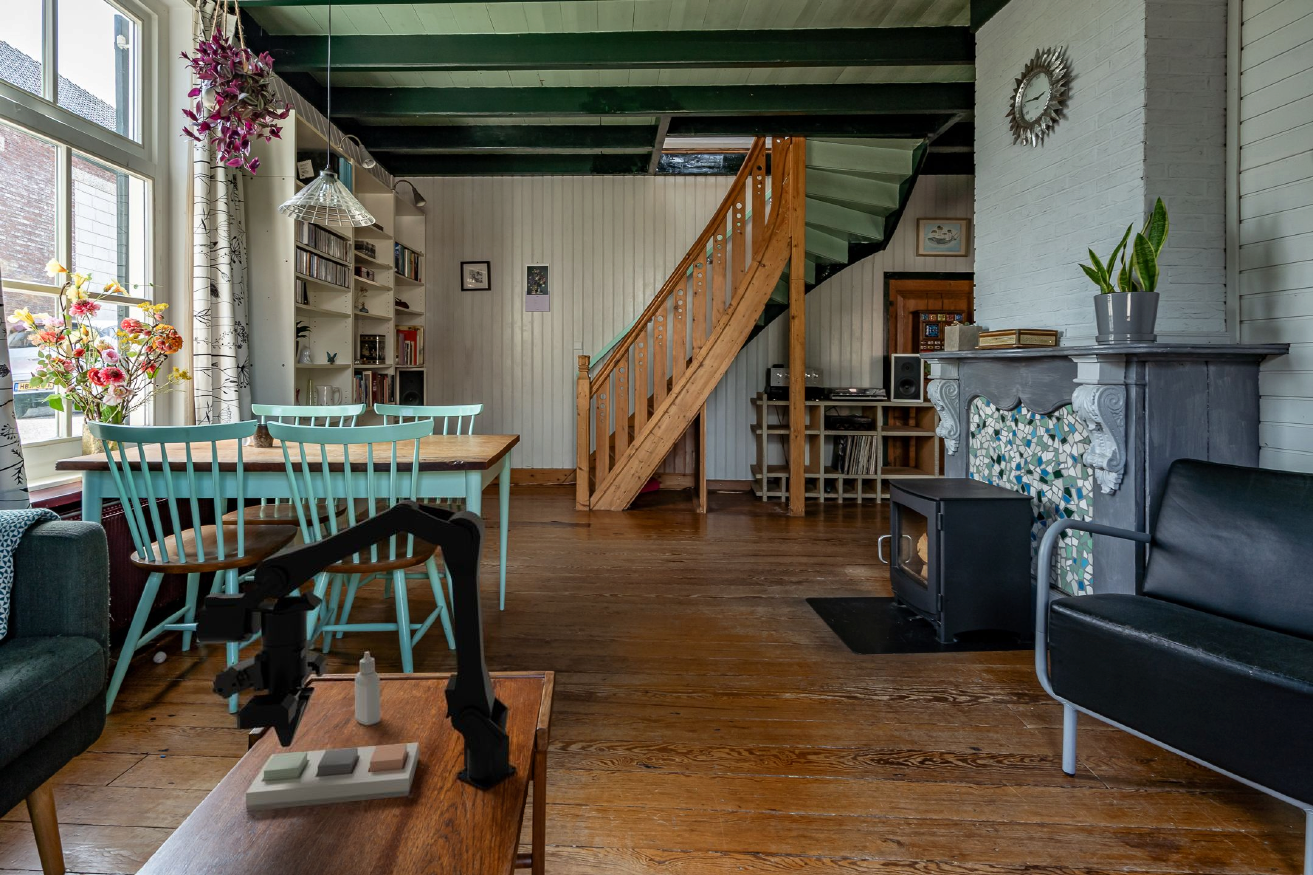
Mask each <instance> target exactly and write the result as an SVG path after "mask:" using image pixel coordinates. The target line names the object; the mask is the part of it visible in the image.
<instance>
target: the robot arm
mask: <svg viewBox="0 0 1313 875" xmlns="http://www.w3.org/2000/svg"><path fill="white" fill-rule="evenodd" d="M402 532H404V533H407V534H410V535H411V536H414V537H416V538H418V539H420V540H422V541H424V542H426V543H428V544H431V545H435V546H438V547H440V549H441V553H442V558H443V561H444V564H445V567H446V569H447V571H448V574H449V576H450V577H449V578H450V579H451V591H452V592H451V594H452V610H453V625H454V626H453V628H454V640H455V654H456V655H455V657H456V658H455V659H456V673H455V674H454V673H451V674H450V675H449V678H448V681H447V684H446V686H445V689H444V696H445V701H446V705H447V709H446V710H447V712H446V715H445V719H449V718H450V723H451V727H452V728H453V730H455V731H457V732H458V733H459V734H461V735H462V738H463V740H464V741H463V767H464V768H463V769H461V770H460V771H458V772H457V773H456V777H457V778H458V779H460V780H462V781H464V782H467V783H469V784H470V785H472V786H475V787H476V788H479V789H481V790H483V791H488V790H490V789H492V788H493V787H494V786H496V785H498V784H499V783H501V782H502V781H504V780H505V779H507V778H509V777H510V776H512V775H513V774H515V773H517V771H518V769H517V766H514V765H512V764H510V735H509V734H507V724H508V716H509V710H510V709H509V707H508V706H507V705H506V704H505V703H503V702H502V701H501V700H500V699H499V698H498V697H497V696H496V695H495V690H494V687H493V686H494V685H493V682H492V679H491V678H492V677H491V674H490V672H489V670H488V667H487V664H486V661H485V652H484V651H485V648H484V633H483V618H482V603H481V602H482V601H481V587H480V585H481V584H480V582H481V581H480V569H481V568H480V567H481V562H482V555H483V550H484V543H485V542H484V541H485V532H486V525H485V522H484V519H483V518H482V517H481V516H480V515H478V513H476V512H474V511H472V510H460V511H457V512H456V511H453V510H450V509H446V508H444V507H443V508H442V507H438V506H433V505H427V504H423V503H420V502H418V501H416V500H413V499H404V500H403V499H402V500H400V501H399V502H398V503H396V504H395V505H394V506H391V507H390V508H388V509H386V510H384V511H382V512H381V511H380V512H379V513H377V514H375V515H373V516H370V517H369V518H366V519H364V520H362V521H360V522H358V523H356V524H353V525H351V526H350V527H347V528H345V529H343V530H341V531H338V532H336V533H335V534H333V535H330V536H329V537H326V538H323V539H320V540H317V541H312V542H307V543H302V544H299V545H295V546H292V547H288V548H285V549H282V550H280V551H278V552H276V553H275V554H273V555H272V556H270V557H268V558H266V559H264V560H263V561H262V562H260V563H258V565H256V567H255V571H254V574H253V582H252V584H251V585H250V586H249V588H248V589H247V590H246V592H244V593H223V592H211V593H210V594H208V595H206V596H205V597H204V598H203V607H202V608H201V610H200V613H199V616H198V620H197V623H196V624H195V635H196V639H197V640H198V641H199V643H201V644H203V645H204V644H205V645H206V644H207V645H208V644H227V643H228V644H229V643H248V642H250V641H251V640H252V638H253V637H254V635H258V634H259V632H260V631H261V632H260V633H261V634H260V636H261V637H260V638H261V640H260V641H261V649H260V650H259V651H258V652H257V653H256V654H255V655H254V656H252V657H249V658H247V659H244V660H242V661H238V662H237V663H233V664H232V665H229V666H227V667H225V668H223V669H222V670H220V671H219V672H217V674H216V675H215V677H214V679H213V681H212V684H213V688H212V693H213V694H216V695H217V696H220V697H222V699H223V700H226V699H227V700H228V699H230V698H231V697H233V696H234V695H236V694H238V693H241V692H244V691H246V690H249V689H251V688H252V689H253V692H256V693H257V692H264V691H265V690H267V692H266V694H256V695H253V696H251V697H250V699H249V700H248V701H247V702H246V703H245V704H244V705H243V706H242V708H240V710H239V711H238V712H237V713H236V728H237V729H238V730H248V729H262V728H273V729H274V731H275V733H276V736H277V739H278V742H279V744H280V746H281V747H282V748H289V747H290V746H291V745H292V743H293V741H294V738H295V737H296V733H297V731H298V729H299V726H300V724H301V722H302V719H303V718H304V715H305V712H306V709H307V707H308V706H309V702H310V700H311V699H312V696H313V694H314V692H315V686H306V687H305V684H306V682H307V681H308V679H309V678H310V677H311V676H312V674H313V672H314V671H315V676H316V677H317V678H321V677H322V676H323V675H324V673H325V672H326V671H327V670H326V669H327V665H326V663H327V661H326V660H327V658H326V657H325V656H323V655H322V654H321V653H319V652H318V653H308V651H309V650H310V648H311V647H312V639H308V620H307V619H308V617H307V616H308V615H307V612H309V611H310V612H311V611H315V609H317V608H318V607H319V606H320V605H322V603H323V599H322V598H321V597H319V595H316V594H314V593H313V592H312V590H311V589H307V590H306V591H304V592H303V593H302V595H290V594H291V593H293V592H294V591H296V590H298V589H299V588H300V587H301V586H303V585H304V584H306V583H307V582H309V581H310V580H311V579H313V578H315V577H316V576H317V575H319V573H321V572H323V571H324V570H325V569H327V568H328V567H330V566H332V565H334V564H336V563H338V562H341V561H342V560H345V559H347V558H350V557H351V556H353V555H355V554H357V553H359V552H362V551H364V550H366V549H368V548H371V547H372V546H374V545H376V544H378V543H380V542H383V541H385V540H387V539H389V538H391V537H394V536H395V535H397V534H399V533H402ZM269 598H270V599H274V600H276V601H267V600H268V599H269Z"/></svg>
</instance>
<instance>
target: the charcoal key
mask: <svg viewBox="0 0 1313 875" xmlns="http://www.w3.org/2000/svg"><path fill="white" fill-rule="evenodd" d="M333 749H334V750H332V749H325V750H326V751H325V753H324V755H323V757H322V759H321V761H320V763H319V764H318V777H321V776H332V775H343V774H352V773H353V771H354V768H355V766H356V764H357V761H358V748H356V747H347V748H346V749H344V748H333Z"/></svg>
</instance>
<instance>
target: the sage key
mask: <svg viewBox="0 0 1313 875" xmlns="http://www.w3.org/2000/svg"><path fill="white" fill-rule="evenodd" d="M296 752H297V753H294V752H284V753H285V754H282V753H274V754H275V755H274V756H273V758H272V759H271V761H270V762H269V764H268V765H267V767H266V768H265V770H264V781H275V780H287V779H298V778H300V777H301V775H302V773H303V771H304V770H305V768H306V766H307V751H296Z"/></svg>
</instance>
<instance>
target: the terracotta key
mask: <svg viewBox="0 0 1313 875" xmlns="http://www.w3.org/2000/svg"><path fill="white" fill-rule="evenodd" d="M383 745H384V744H383ZM375 746H376V748H375V750H374V753H373V755H372V758H371V760H370V772H378V771H389V770H400V769H403V768H404V764H405V761H406V758H407V744H406V743H397V744H396V745H393V744H385V745H384V746H381V745H375Z"/></svg>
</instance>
